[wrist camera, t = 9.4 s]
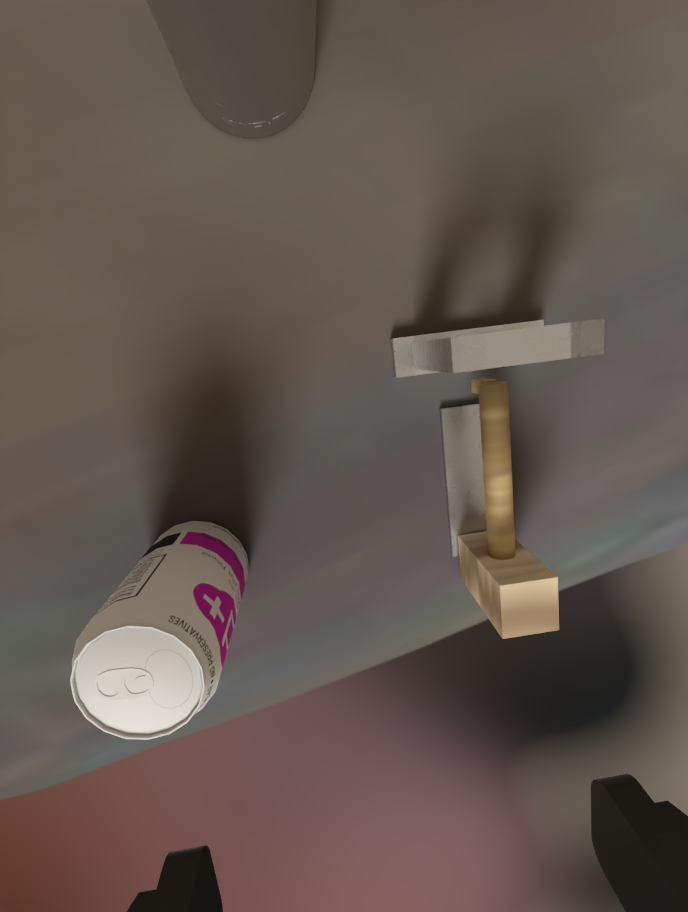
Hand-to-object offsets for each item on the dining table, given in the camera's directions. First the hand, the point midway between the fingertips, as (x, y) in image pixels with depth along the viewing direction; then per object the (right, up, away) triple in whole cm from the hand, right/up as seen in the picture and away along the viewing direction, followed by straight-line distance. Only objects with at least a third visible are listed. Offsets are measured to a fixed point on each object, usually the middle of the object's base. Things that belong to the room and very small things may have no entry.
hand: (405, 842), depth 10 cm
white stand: (+10, +9, +30) cm, 32 cm away
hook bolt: (+10, +6, +30) cm, 32 cm away
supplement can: (-13, -1, +30) cm, 33 cm away
